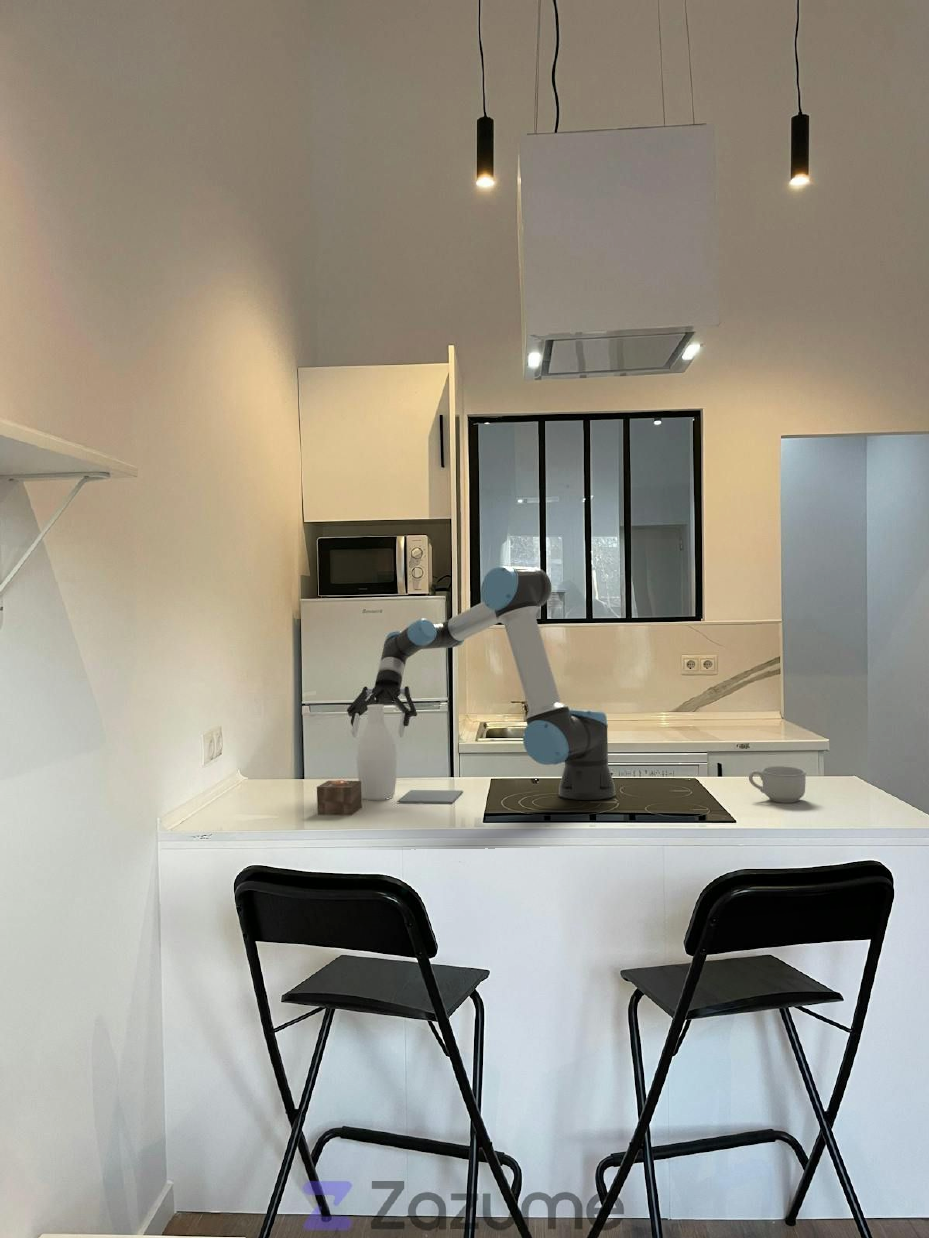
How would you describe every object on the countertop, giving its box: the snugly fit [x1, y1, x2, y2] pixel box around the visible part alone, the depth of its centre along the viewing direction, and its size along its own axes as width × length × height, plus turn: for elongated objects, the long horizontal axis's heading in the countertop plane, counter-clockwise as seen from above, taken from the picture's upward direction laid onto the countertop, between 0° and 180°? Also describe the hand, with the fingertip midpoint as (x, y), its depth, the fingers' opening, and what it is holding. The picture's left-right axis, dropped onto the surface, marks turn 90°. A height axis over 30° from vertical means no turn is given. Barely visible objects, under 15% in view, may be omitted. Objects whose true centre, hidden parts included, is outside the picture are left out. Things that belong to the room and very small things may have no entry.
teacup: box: [748, 765, 807, 804], centre depth 246 cm, size 14×11×8 cm
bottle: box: [356, 703, 398, 801], centre depth 264 cm, size 11×11×25 cm
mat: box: [396, 789, 464, 805], centre depth 261 cm, size 15×15×1 cm
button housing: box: [316, 780, 363, 816], centre depth 247 cm, size 9×9×7 cm
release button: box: [328, 779, 350, 786], centre depth 247 cm, size 4×4×6 cm
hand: (376, 734), depth 268 cm, fingers open, 13 cm apart
